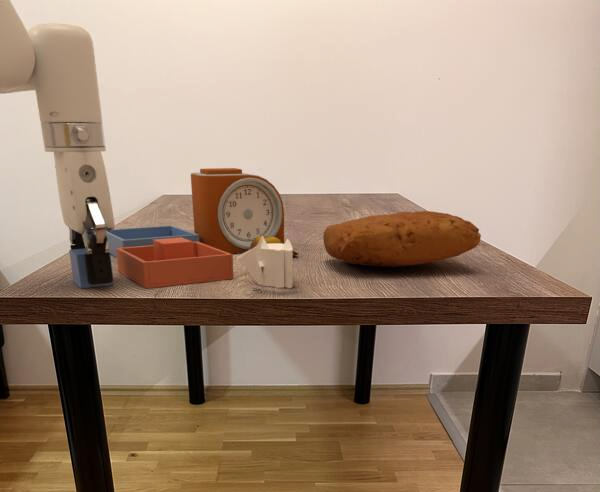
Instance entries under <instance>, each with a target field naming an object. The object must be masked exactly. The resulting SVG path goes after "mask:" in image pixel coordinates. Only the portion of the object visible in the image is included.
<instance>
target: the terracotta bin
mask: <svg viewBox="0 0 600 492" xmlns="http://www.w3.org/2000/svg"><path fill="white" fill-rule="evenodd" d="M116 253H117V258H116V260H117V269H118V272H119V273H120V274H122V275H123V276H125V277H127V278H128V279H130V280H132V281H133V282H135V283H136V284H137V285H139V286H141V287H143V288H144V289H153V288H154V289H155V288H162V287H163V288H164V287H172V286H180V285H189V284H197V283H199V284H200V283H207V282H208V283H209V282H215V281H226V280H233V279H234V257H233V254H234V253H233V254H230V253H228V252H225V251H222V250H219V249H217V248H214V247H211V246H208V245H206V244H203V243H200V242H193V253H194V257H190V258H179V259H168V260H157V261H155V257H154V246H153V245H149V246H137V247H125V248H116Z"/></svg>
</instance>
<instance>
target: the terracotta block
mask: <svg viewBox="0 0 600 492" xmlns="http://www.w3.org/2000/svg"><path fill="white" fill-rule="evenodd" d="M153 246H154V257H155V261H157V260H168V259H179V258H190V257H194V253H193V242H192V241H190V240H187V239H184V238H182V237H181V238H168V239H155V240H153Z"/></svg>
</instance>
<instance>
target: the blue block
mask: <svg viewBox="0 0 600 492" xmlns="http://www.w3.org/2000/svg"><path fill="white" fill-rule="evenodd" d="M68 252H69V258H70V265H71V266H70V267H71V273H72V279H73V283H74V284H75V285H76V286H78V287H79V288H80V289H90V288H98V287H107V286H115V282H114V280H113V281H112V282H111V283H105V284H95V285H91V284H89V283H88V278H87V270H86V263H85V256H84V254H87V252H86V249H74V250H71V249H69V250H68ZM109 253H110V252H109ZM110 261H111V262H112V255H110ZM111 269H112V270H113V265H112V263H111ZM112 277H113V278H114V274H113V272H112Z"/></svg>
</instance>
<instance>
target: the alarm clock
mask: <svg viewBox="0 0 600 492" xmlns="http://www.w3.org/2000/svg"><path fill="white" fill-rule="evenodd" d="M190 185H191V199H192V200H191V202H192V216H193V231H194V232H193V233H195V234H198V235H199V241H200V243H203V244H206V245H208V246H211V247H214V248H217V249H219V250H222V251H225V252H228V253H230V254H243V253H245V252H247V251H249V250H250V245H251V243H252V241H253V240H254V239H255V238H256V237H258V236H262V235H263V236H264V235H266V236H268V237H276V238H278V239H279V240H280V241H281V243H282V244H284V243H285V208H284V201H283V200H282V199H283V198H282V197H281V194H280V192H279V191H278V189H277V188H276V187H275V185H274V184H272V182H270V181H269V180H268V179H266V178H264V177H262V176H260V175H256V174H253V173H252V174H250V173H245V172H243V170H242V169H241V168H237V167H236V168H235V167H222V168H220V167H219V168H217V167H216V168H200V169H199V172H191V173H190Z"/></svg>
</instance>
